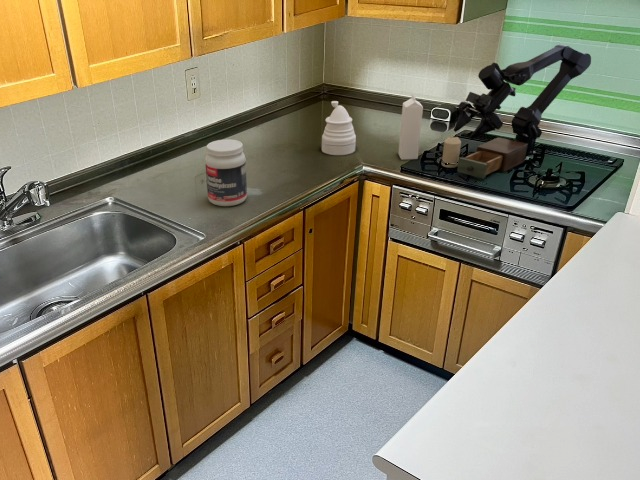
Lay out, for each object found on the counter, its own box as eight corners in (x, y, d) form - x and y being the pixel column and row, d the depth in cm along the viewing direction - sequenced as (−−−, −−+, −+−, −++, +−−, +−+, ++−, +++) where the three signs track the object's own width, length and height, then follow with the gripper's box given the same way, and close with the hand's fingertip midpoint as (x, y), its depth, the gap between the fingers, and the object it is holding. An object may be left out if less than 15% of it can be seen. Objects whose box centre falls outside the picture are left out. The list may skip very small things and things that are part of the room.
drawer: (481, 179, 206) (483, 165, 203) (455, 172, 212) (456, 158, 210) (503, 168, 213) (506, 155, 210) (477, 162, 219) (479, 148, 217)
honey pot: (318, 154, 237) (319, 106, 228) (325, 143, 248) (326, 97, 238) (352, 156, 234) (354, 107, 224) (357, 145, 244) (360, 98, 234)
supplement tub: (204, 207, 199) (200, 151, 190) (211, 192, 210) (207, 138, 200) (244, 208, 197) (242, 151, 188) (249, 192, 208) (247, 138, 199)
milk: (401, 159, 228) (406, 98, 216) (398, 154, 233) (403, 93, 221) (418, 159, 227) (424, 97, 216) (414, 153, 233) (420, 93, 221)
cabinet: (503, 172, 212) (507, 153, 209) (474, 164, 220) (477, 146, 216) (524, 162, 220) (528, 143, 216) (495, 155, 227) (498, 137, 224)
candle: (456, 162, 223) (459, 134, 217) (459, 167, 218) (463, 139, 213) (440, 162, 223) (443, 135, 218) (442, 168, 219) (446, 139, 213)
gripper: (466, 77, 216) (434, 113, 219) (501, 88, 201) (467, 127, 204) (481, 97, 222) (451, 132, 225) (517, 110, 207) (483, 147, 210)
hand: (462, 134), depth 216 cm, fingers open, 9 cm apart
